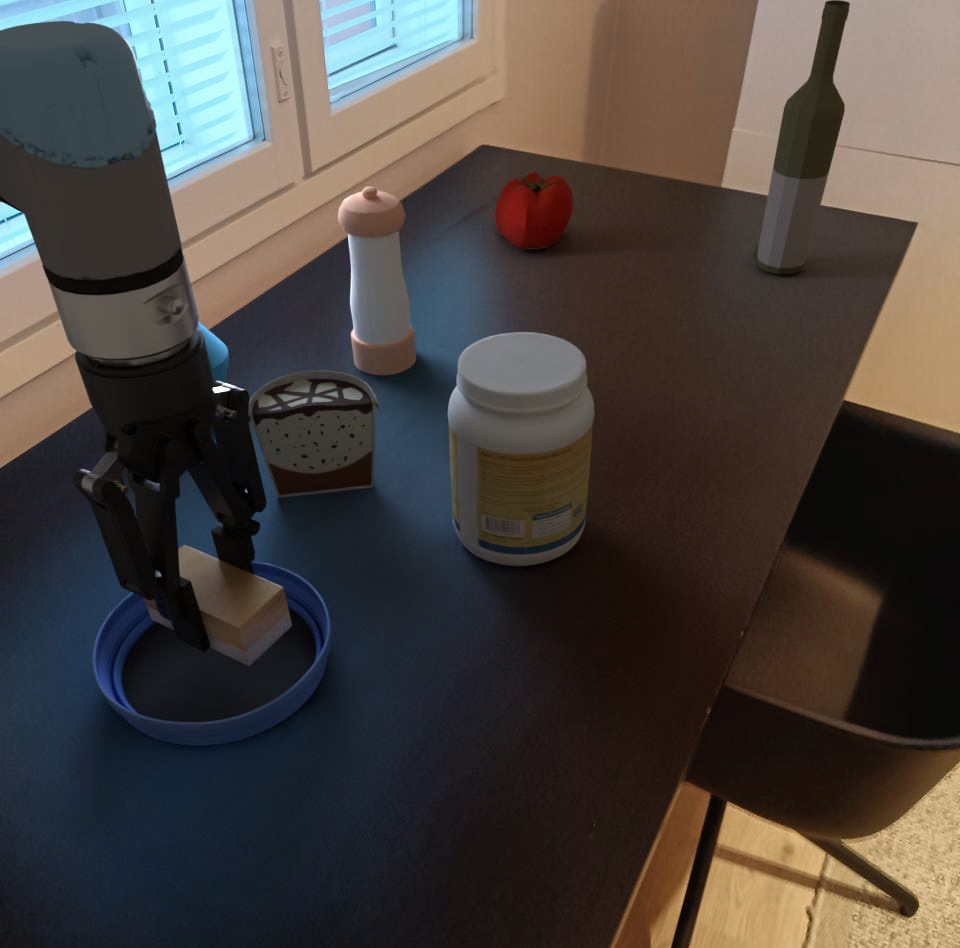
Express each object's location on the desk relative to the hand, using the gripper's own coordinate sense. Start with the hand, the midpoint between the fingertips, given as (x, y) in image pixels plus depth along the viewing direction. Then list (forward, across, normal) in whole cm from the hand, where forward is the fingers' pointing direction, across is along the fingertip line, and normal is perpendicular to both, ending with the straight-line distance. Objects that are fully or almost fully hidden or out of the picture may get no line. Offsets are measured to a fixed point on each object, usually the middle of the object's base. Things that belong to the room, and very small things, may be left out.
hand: (219, 619), depth 71 cm
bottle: (+4, +93, -15) cm, 94 cm away
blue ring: (+4, -1, 0) cm, 5 cm away
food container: (+4, +24, +9) cm, 26 cm away
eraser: (0, 0, 0) cm, 0 cm away
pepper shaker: (+4, +46, +17) cm, 49 cm away
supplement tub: (+4, +26, -12) cm, 29 cm away
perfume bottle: (+4, +29, +31) cm, 43 cm away
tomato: (+4, +84, +18) cm, 86 cm away
